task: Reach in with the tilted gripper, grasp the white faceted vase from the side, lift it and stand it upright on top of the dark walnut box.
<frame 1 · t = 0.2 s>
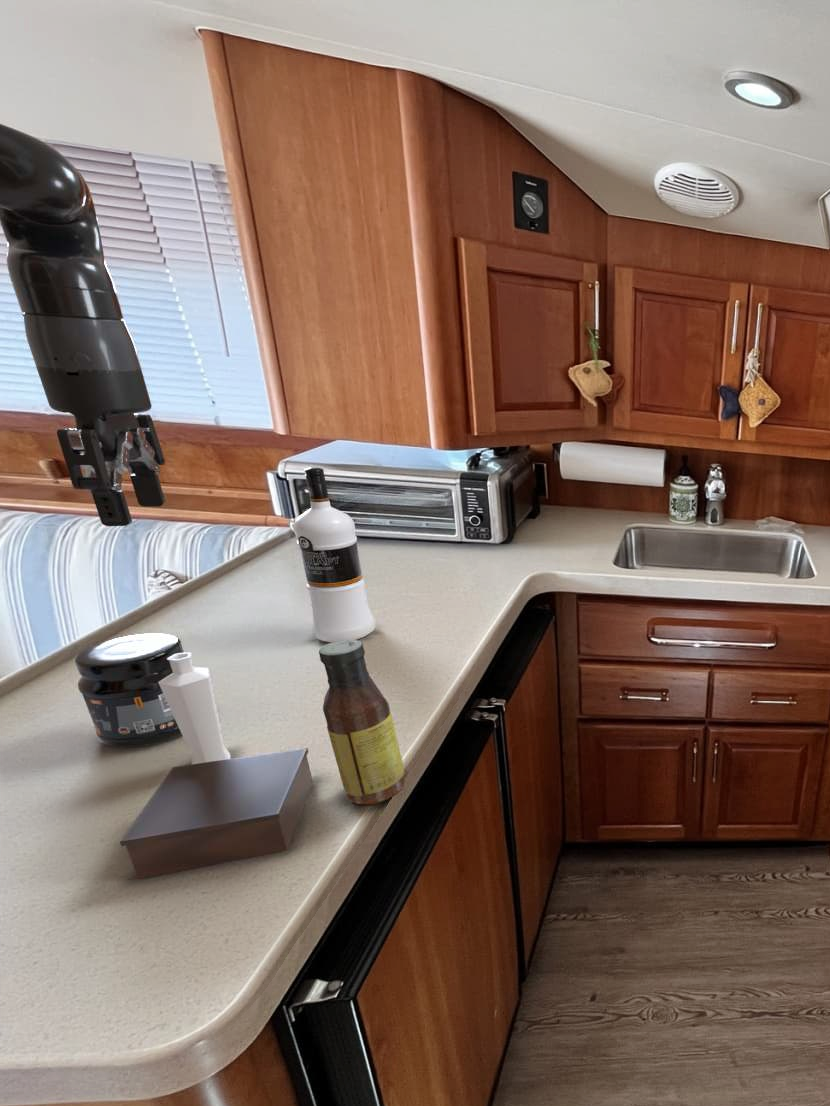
hand: (136, 515, 72), 31 cm above the table, tool pointing down, fingers open, 8 cm apart
box: (235, 826, 71), on the table
supplement container: (156, 729, 85), on the table
white faceted vase: (212, 764, 80), on the table
vodka: (346, 634, 115), on the table
sauce bottle: (375, 792, 78), on the table
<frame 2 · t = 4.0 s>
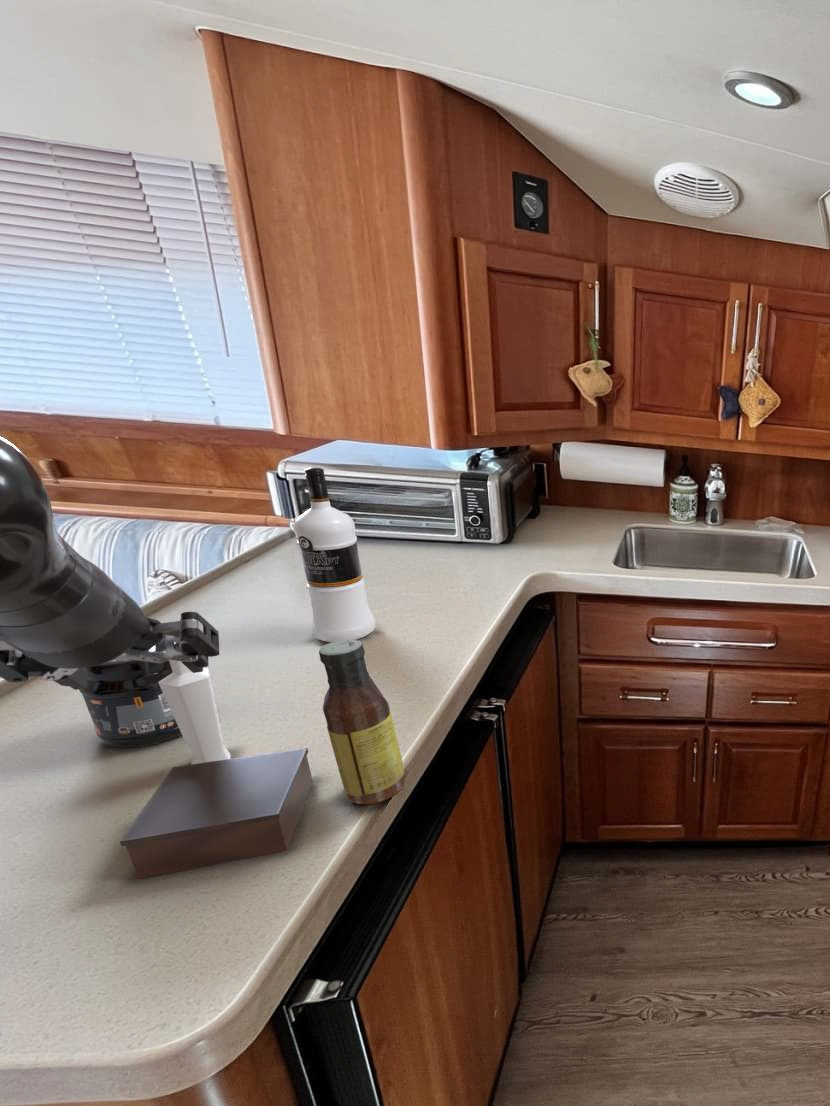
hand: (142, 671, 64), 19 cm above the table, tool tilted 45°, fingers open, 8 cm apart
nothing on the table moved.
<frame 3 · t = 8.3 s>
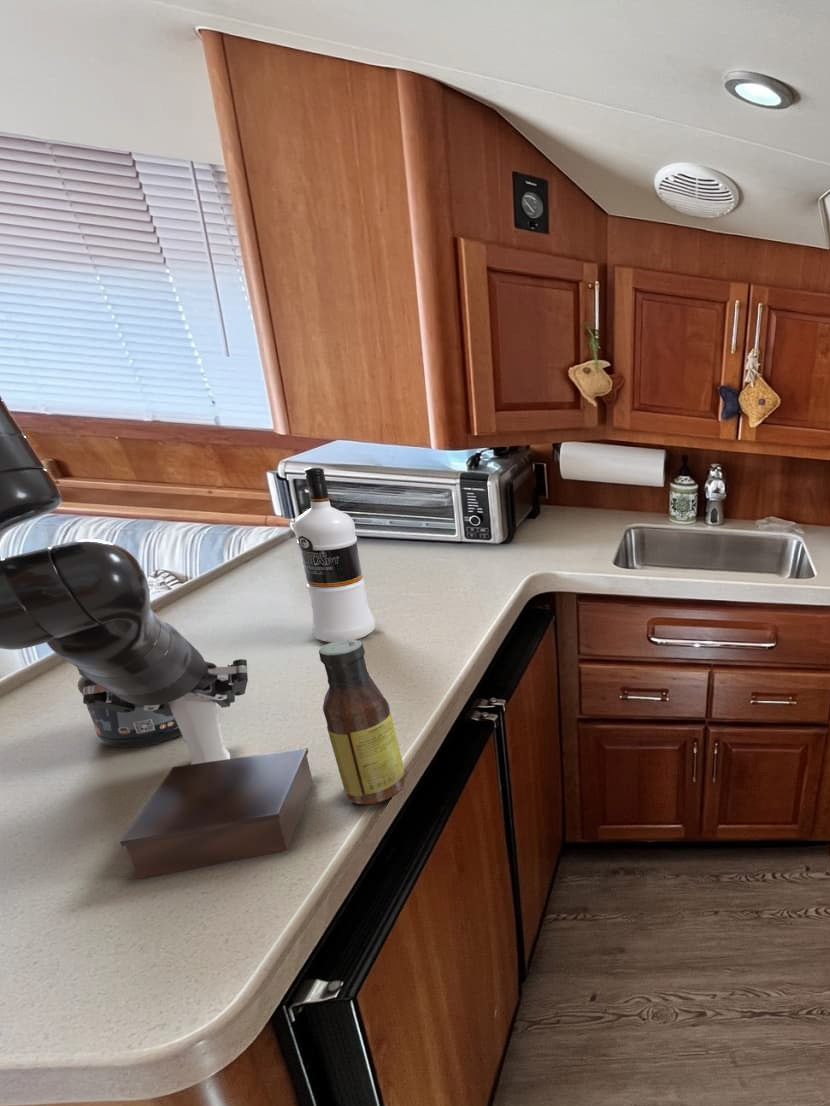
hand: (198, 703, 78), 8 cm above the table, tool tilted 45°, fingers closed on white faceted vase, 4 cm apart
white faceted vase: (212, 764, 80), on the table, touching gripper
everything else where it was.
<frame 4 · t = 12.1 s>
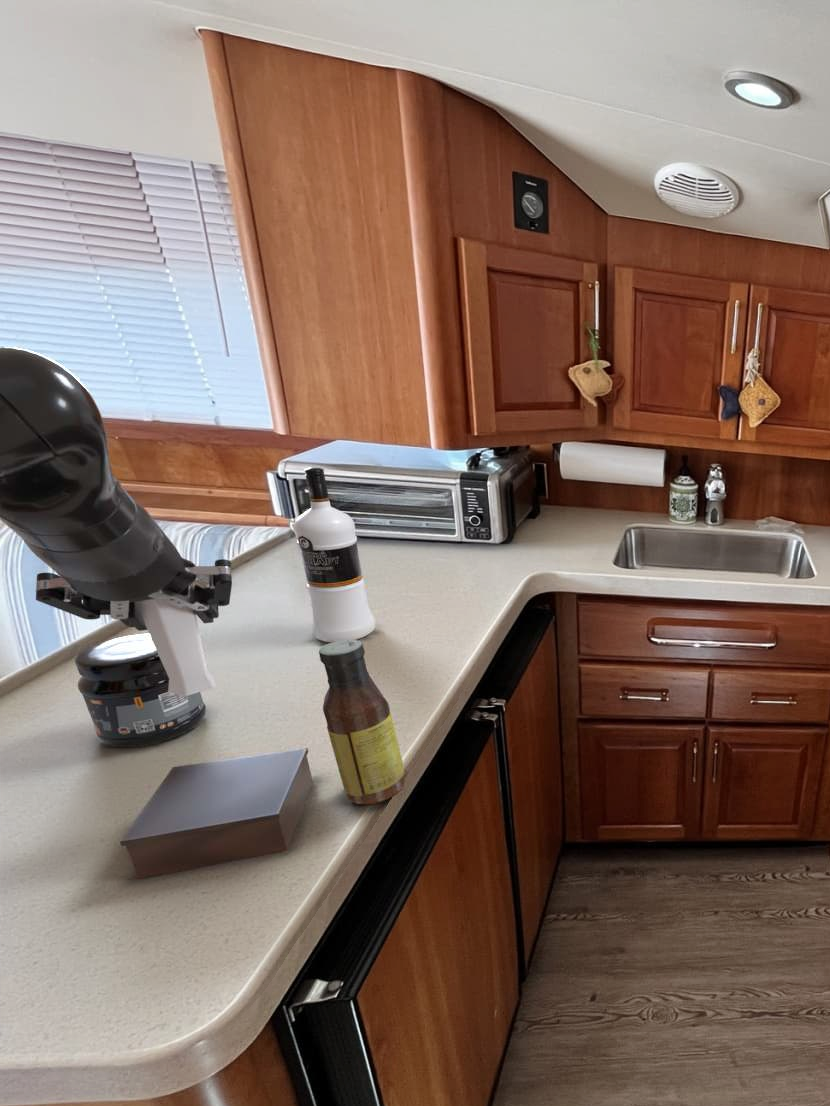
hand: (176, 618, 68), 22 cm above the table, tool tilted 45°, fingers closed on white faceted vase, 4 cm apart
white faceted vase: (193, 689, 70), point 14 cm above the table, touching gripper
everything else where it was.
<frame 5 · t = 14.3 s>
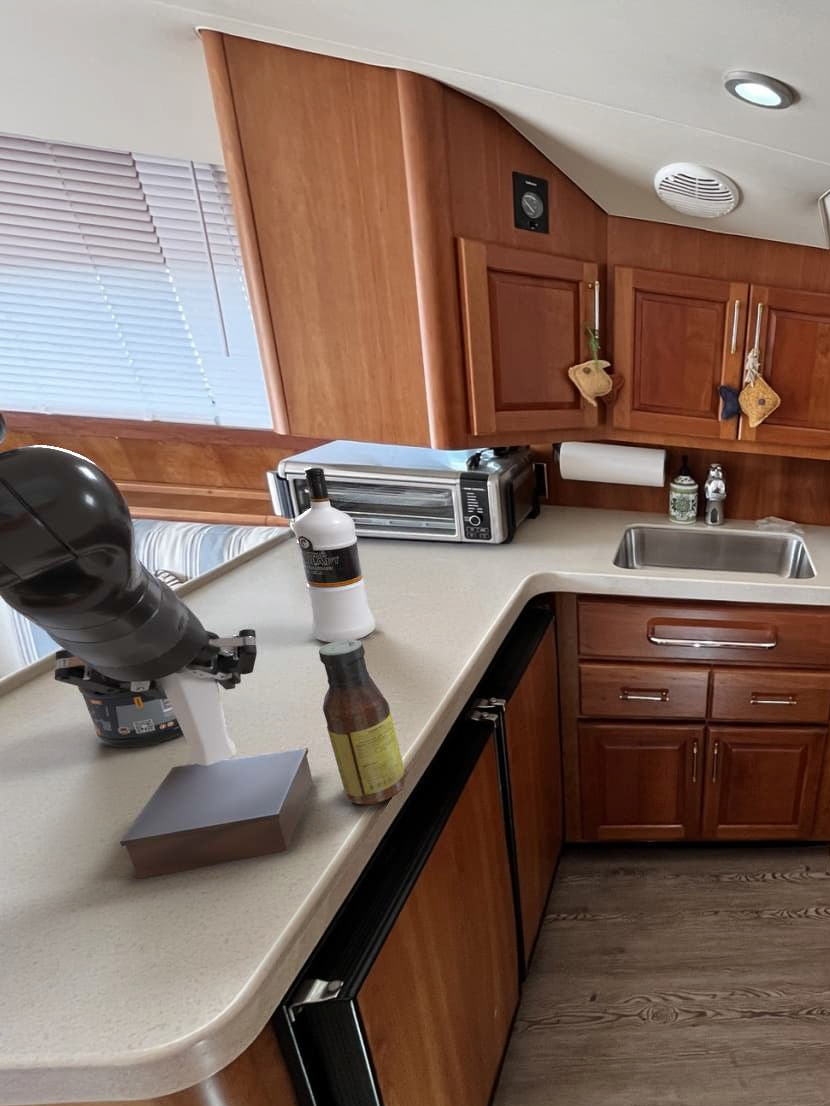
hand: (197, 685, 66), 17 cm above the table, tool tilted 45°, fingers closed on white faceted vase, 4 cm apart
white faceted vase: (214, 757, 67), point 9 cm above the table, touching gripper
everything else where it was.
when the fingers open (13 cm above the table, at t = 16.1 s): white faceted vase stays where it is, resting on box.
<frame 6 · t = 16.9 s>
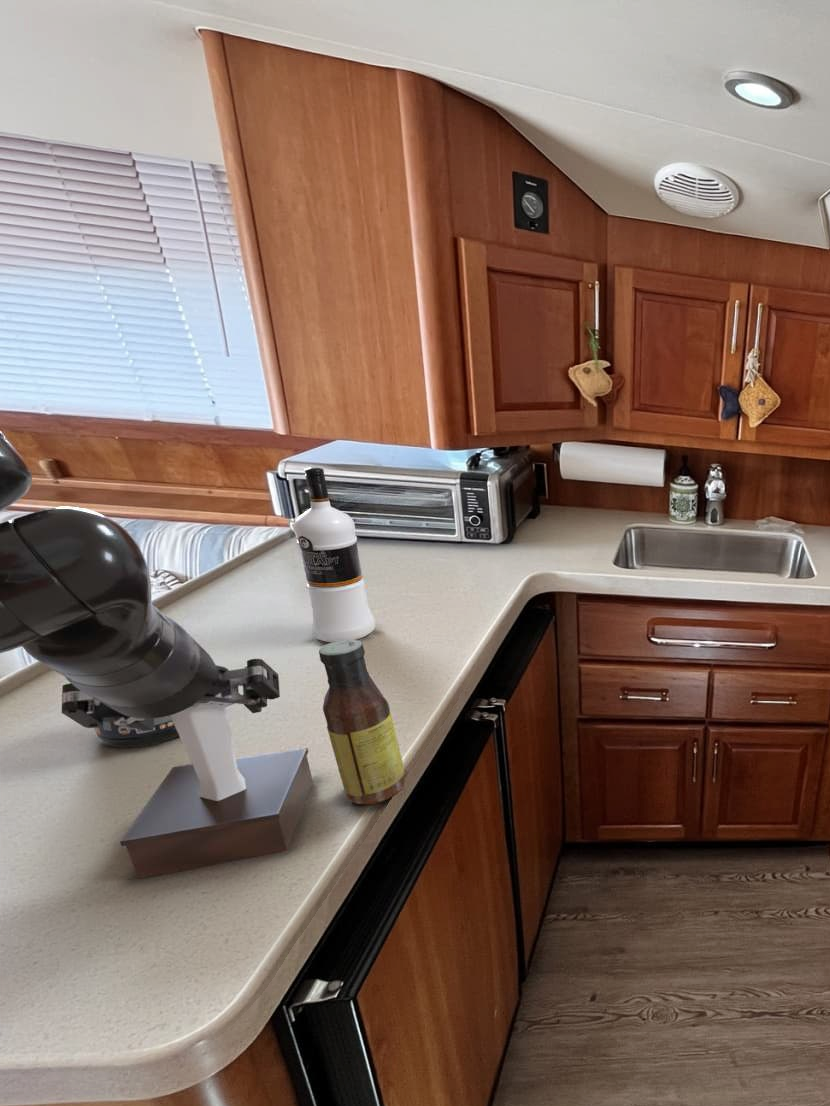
hand: (204, 712, 66), 14 cm above the table, tool tilted 45°, fingers open, 8 cm apart
white faceted vase: (224, 791, 69), point 5 cm above the table, touching box
everything else where it was.
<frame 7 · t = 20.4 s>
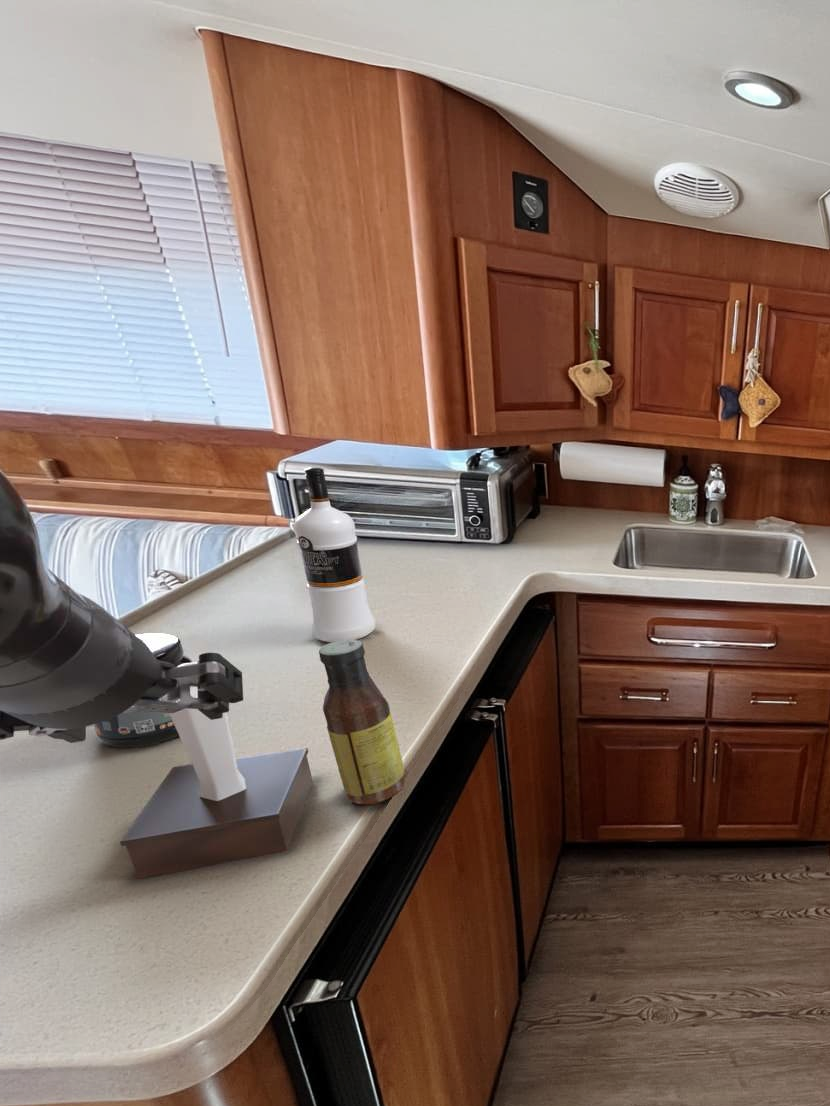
hand: (151, 718, 54), 21 cm above the table, tool tilted 45°, fingers open, 8 cm apart
nothing on the table moved.
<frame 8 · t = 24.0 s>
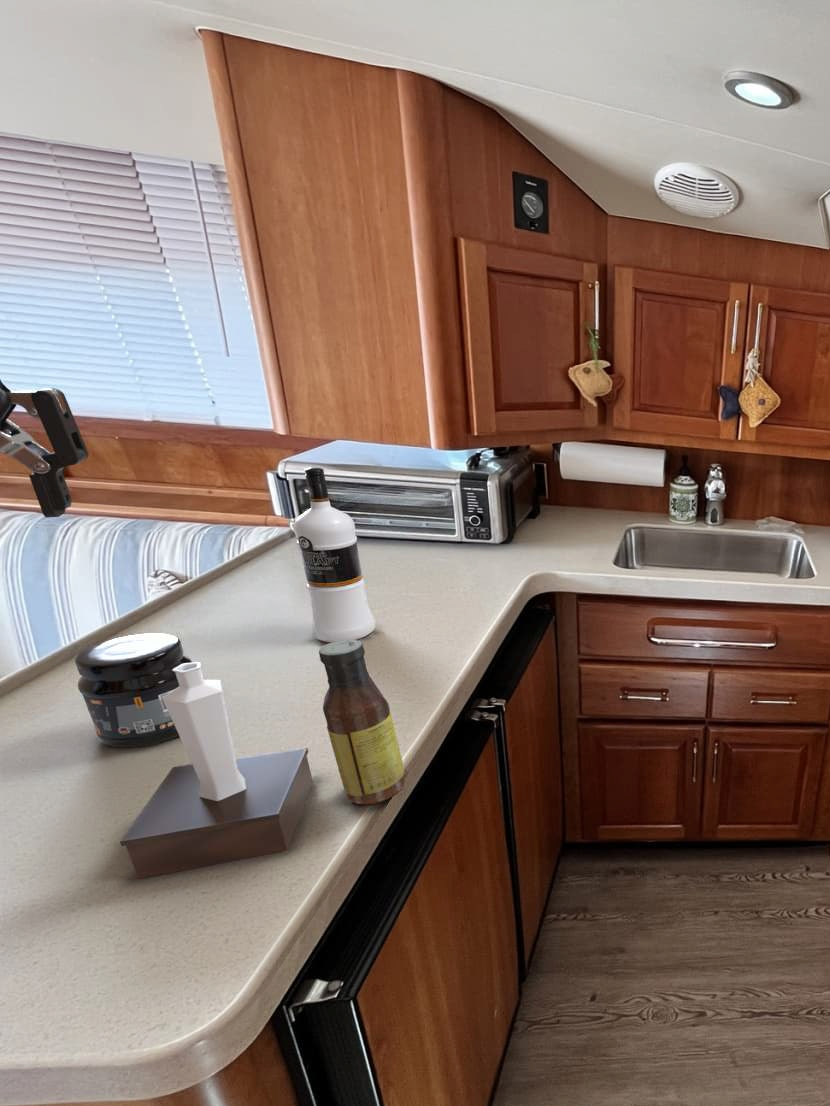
nothing on the table moved.
at the end: white faceted vase inside the target area on the box (0.2 cm from its centre), point 4.8 cm above the box's base; white faceted vase tilted 0°; the gripper is holding nothing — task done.
